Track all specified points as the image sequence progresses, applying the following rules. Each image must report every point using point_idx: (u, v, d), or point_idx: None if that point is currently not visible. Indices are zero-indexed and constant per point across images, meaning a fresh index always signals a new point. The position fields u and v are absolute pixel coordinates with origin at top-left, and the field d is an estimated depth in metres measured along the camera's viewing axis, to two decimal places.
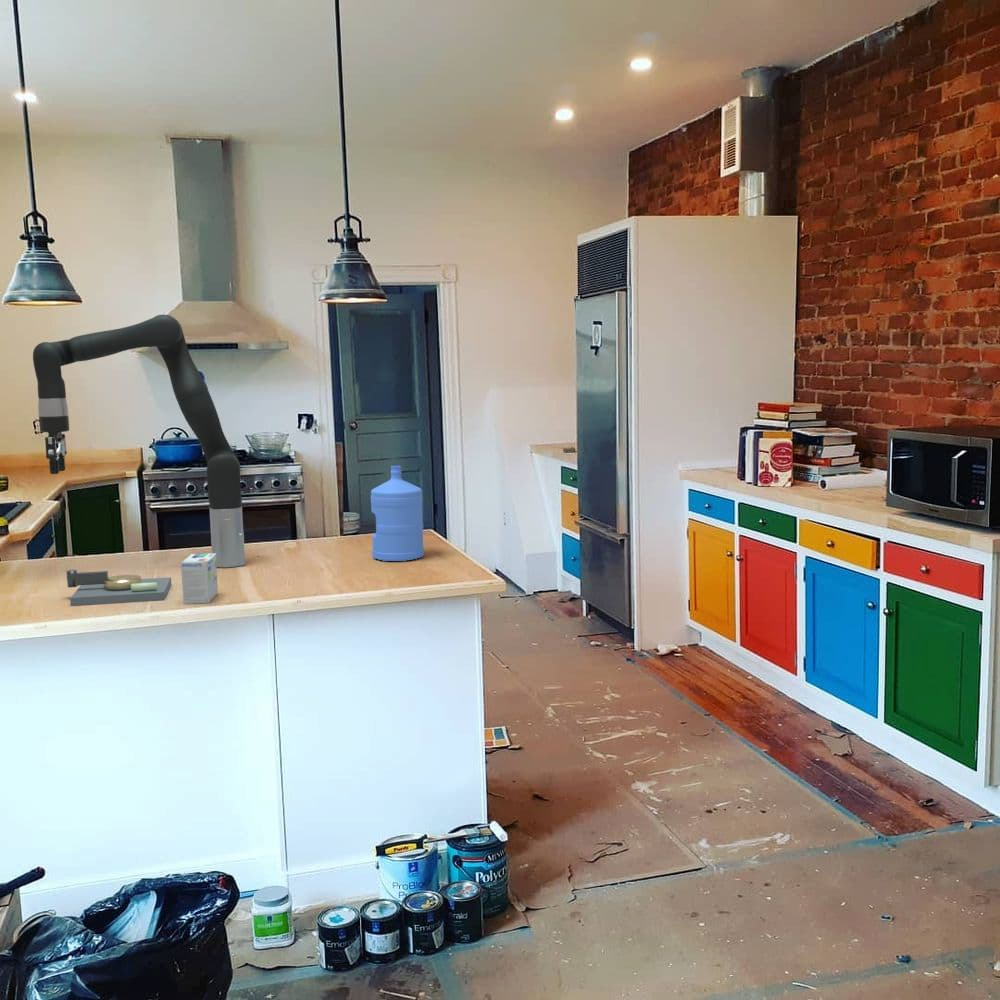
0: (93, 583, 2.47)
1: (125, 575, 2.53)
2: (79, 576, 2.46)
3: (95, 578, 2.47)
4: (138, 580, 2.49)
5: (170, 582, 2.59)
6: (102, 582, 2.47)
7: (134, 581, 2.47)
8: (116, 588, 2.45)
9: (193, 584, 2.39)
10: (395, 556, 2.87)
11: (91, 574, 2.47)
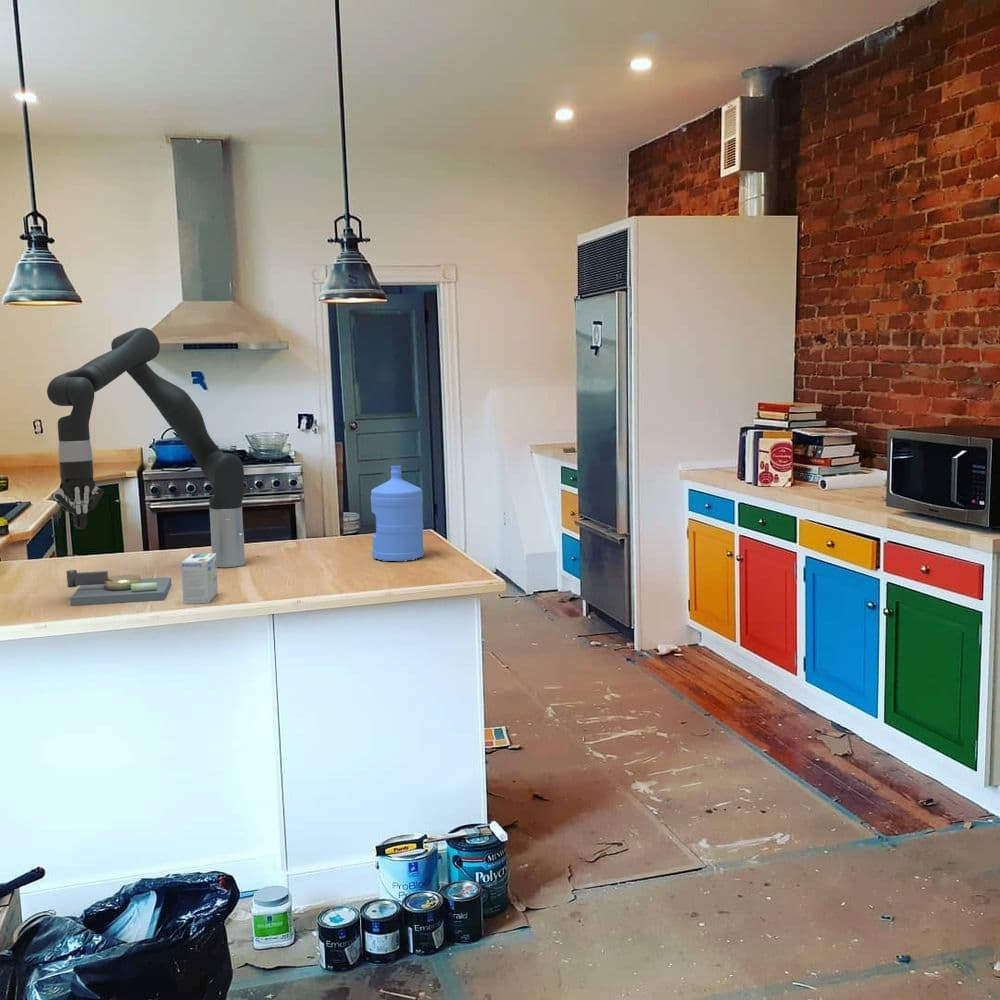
0: (93, 583, 2.47)
1: (125, 575, 2.53)
2: (79, 576, 2.46)
3: (95, 578, 2.47)
4: (138, 580, 2.49)
5: (170, 582, 2.59)
6: (102, 582, 2.47)
7: (134, 581, 2.47)
8: (116, 588, 2.45)
9: (193, 584, 2.39)
10: (395, 556, 2.87)
11: (91, 574, 2.47)
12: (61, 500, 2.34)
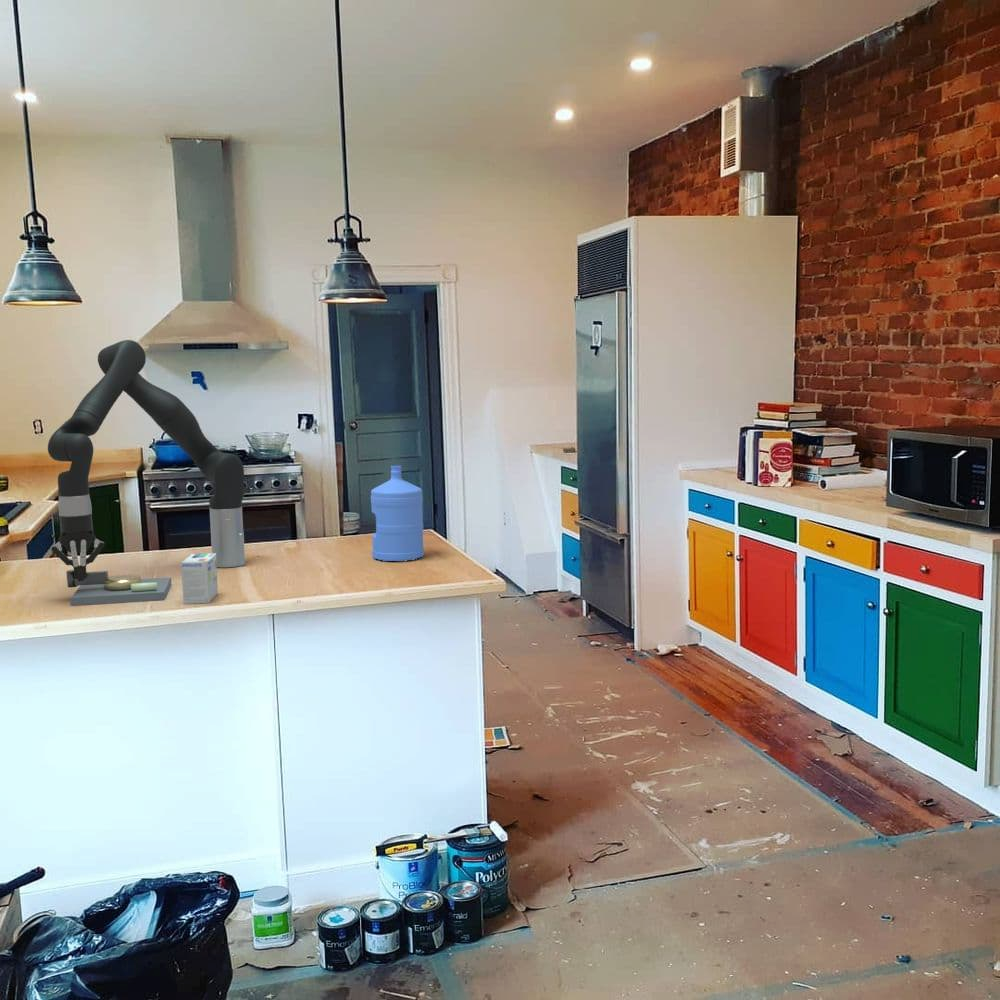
0: (93, 583, 2.47)
1: (125, 575, 2.53)
2: None
3: (95, 578, 2.47)
4: (138, 580, 2.49)
5: (170, 582, 2.59)
6: (102, 582, 2.47)
7: (134, 581, 2.47)
8: (116, 588, 2.45)
9: (193, 584, 2.39)
10: (395, 556, 2.87)
11: (91, 574, 2.47)
12: (57, 553, 2.41)
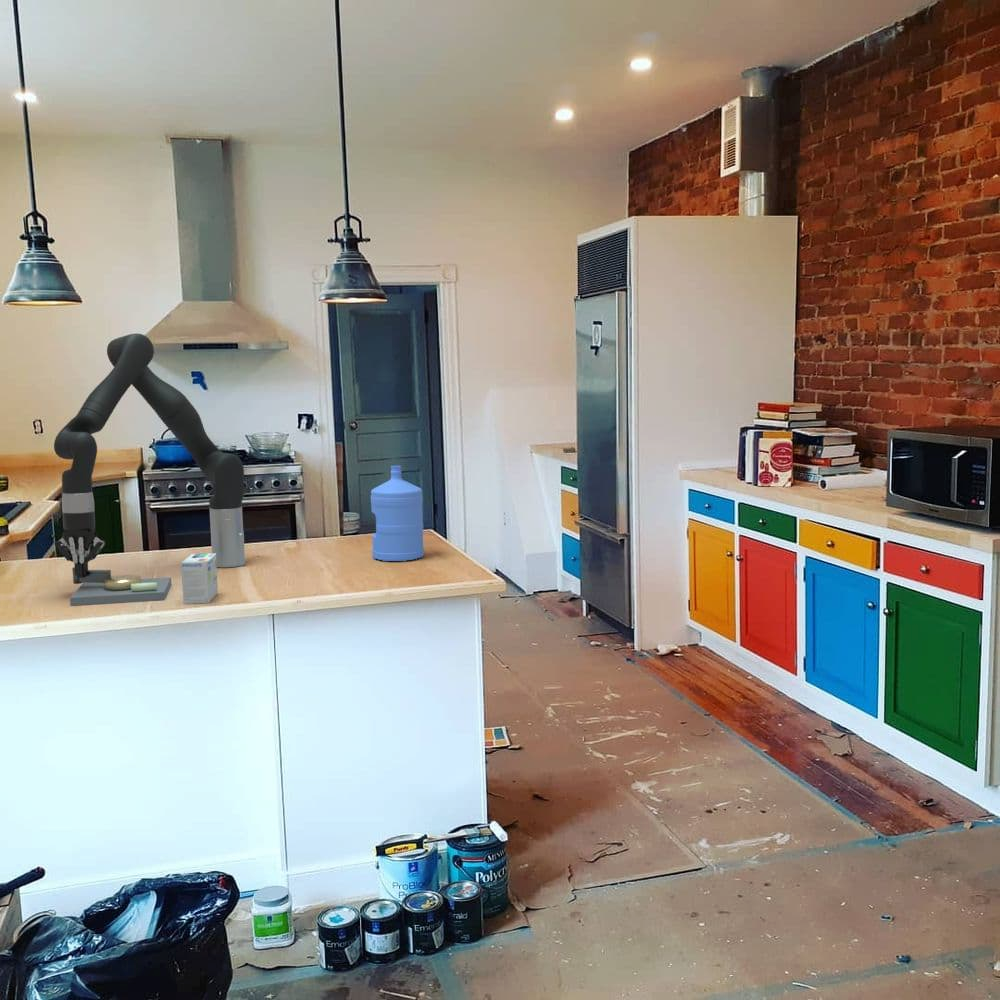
0: (95, 581, 2.49)
1: (130, 575, 2.53)
2: None
3: (97, 576, 2.49)
4: (134, 581, 2.47)
5: (170, 582, 2.59)
6: (103, 581, 2.49)
7: (129, 582, 2.46)
8: (110, 588, 2.45)
9: (193, 584, 2.39)
10: (395, 556, 2.87)
11: (93, 572, 2.49)
12: (59, 548, 2.47)
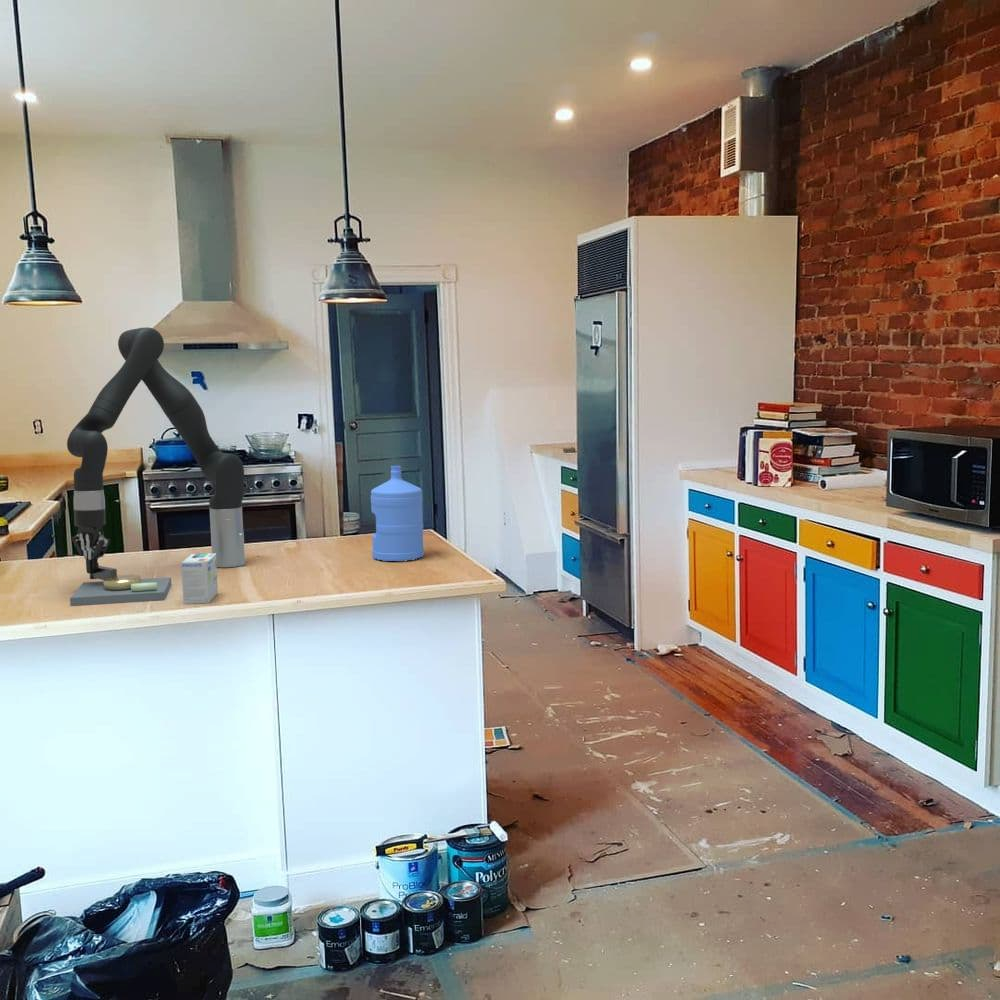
0: (103, 578, 2.52)
1: (135, 575, 2.52)
2: None
3: (104, 574, 2.52)
4: (126, 583, 2.46)
5: (170, 582, 2.59)
6: None
7: (120, 583, 2.45)
8: (105, 587, 2.46)
9: (193, 584, 2.39)
10: (395, 556, 2.87)
11: (101, 569, 2.52)
12: (74, 543, 2.54)
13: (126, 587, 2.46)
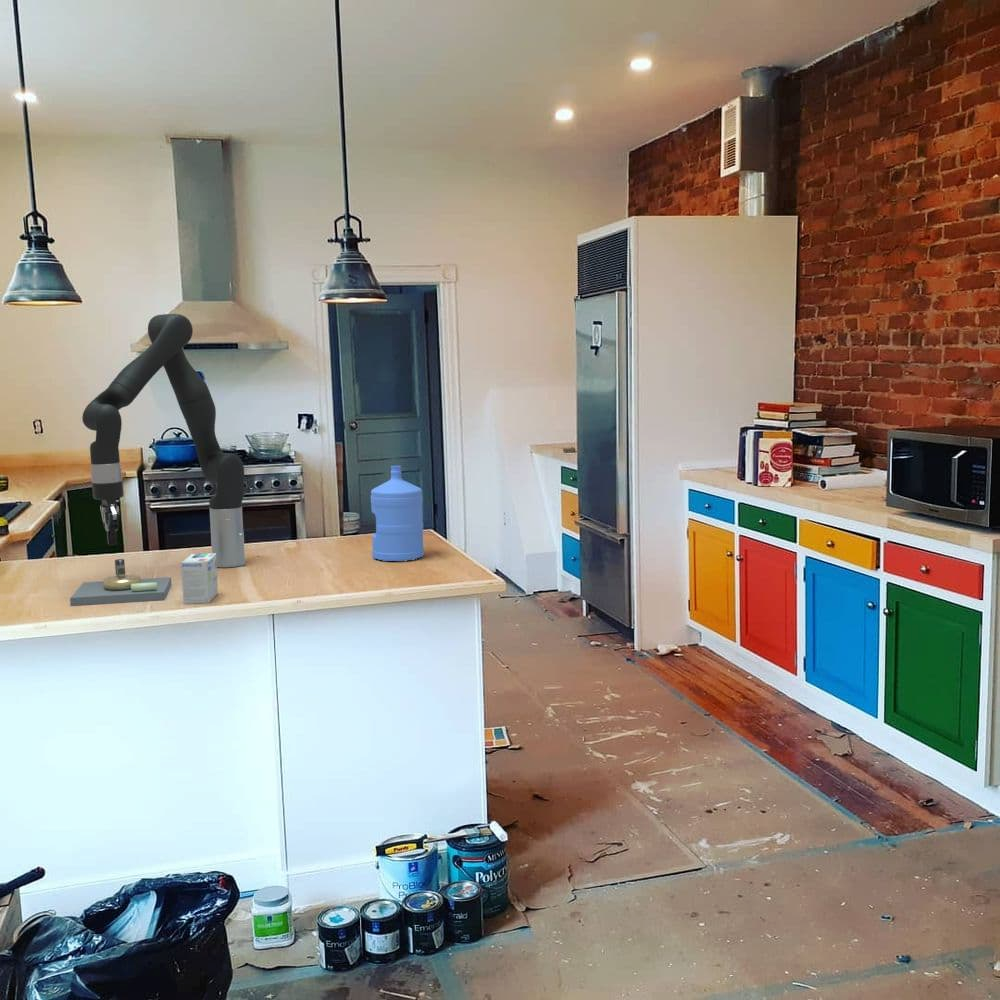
0: (117, 576, 2.55)
1: (137, 577, 2.50)
2: (116, 566, 2.58)
3: (117, 572, 2.54)
4: (116, 584, 2.45)
5: (170, 582, 2.59)
6: None
7: (110, 583, 2.45)
8: None
9: (193, 584, 2.39)
10: (395, 556, 2.87)
11: (116, 567, 2.55)
12: (101, 514, 2.59)
13: (115, 588, 2.45)
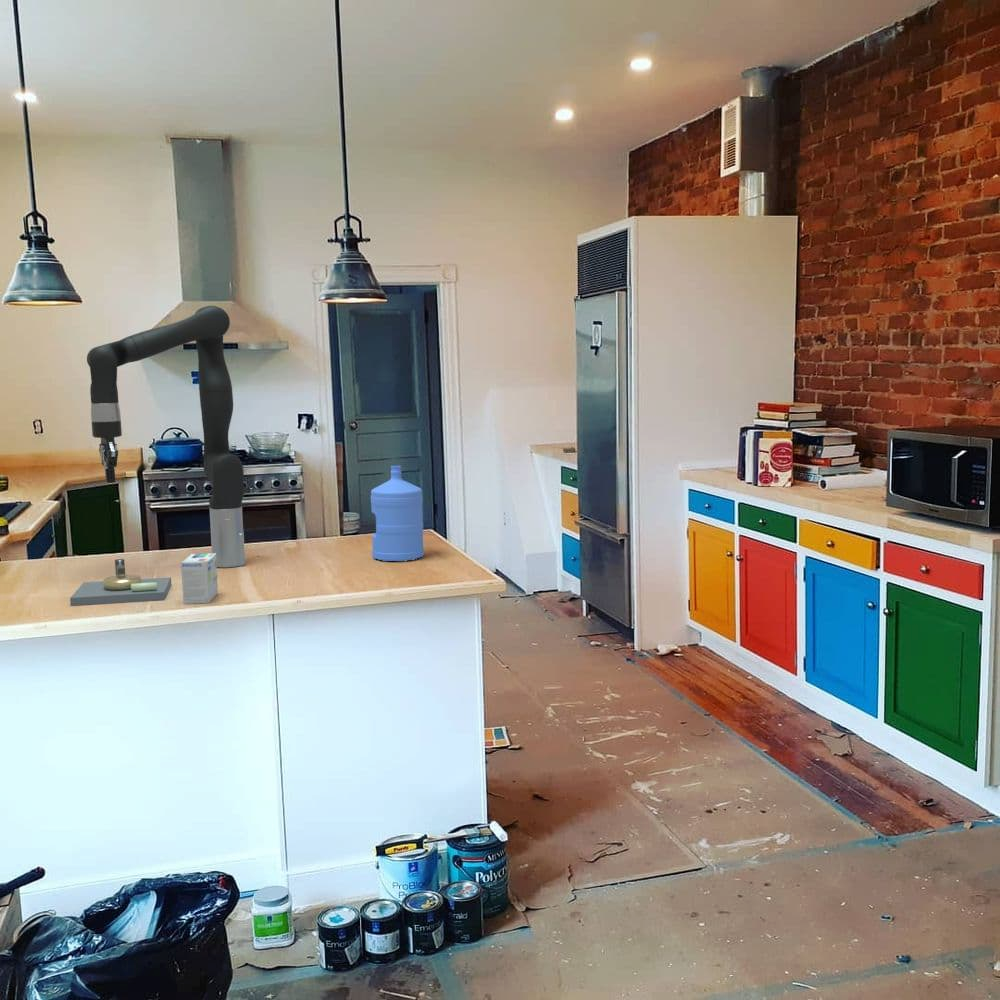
0: (117, 576, 2.55)
1: (137, 577, 2.50)
2: (116, 566, 2.58)
3: (117, 572, 2.54)
4: (116, 584, 2.45)
5: (170, 582, 2.59)
6: None
7: (110, 583, 2.45)
8: None
9: (193, 584, 2.39)
10: (395, 556, 2.87)
11: (116, 567, 2.55)
12: (100, 453, 2.70)
13: (115, 588, 2.45)
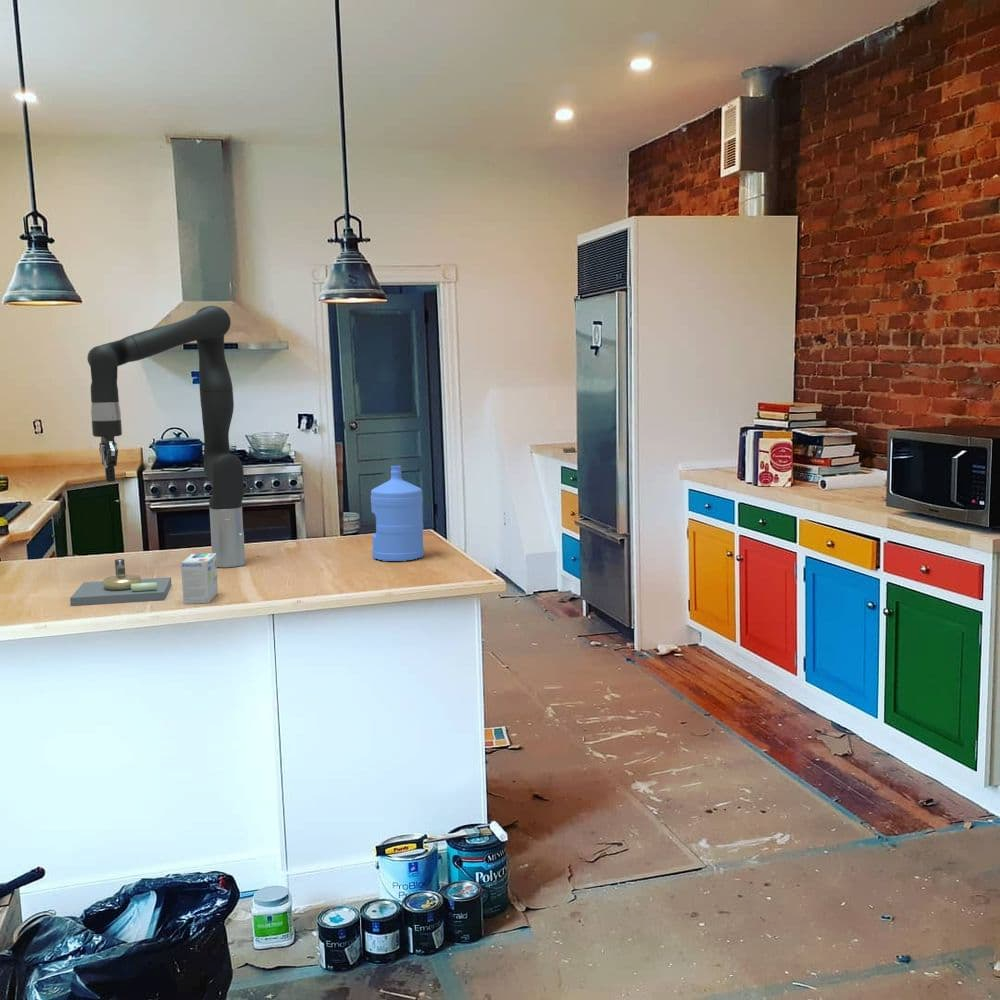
0: (117, 576, 2.55)
1: (137, 577, 2.50)
2: (116, 566, 2.58)
3: (117, 572, 2.54)
4: (116, 584, 2.45)
5: (170, 582, 2.59)
6: None
7: (110, 583, 2.45)
8: None
9: (193, 584, 2.39)
10: (395, 556, 2.87)
11: (116, 567, 2.55)
12: (100, 452, 2.71)
13: (115, 588, 2.45)
